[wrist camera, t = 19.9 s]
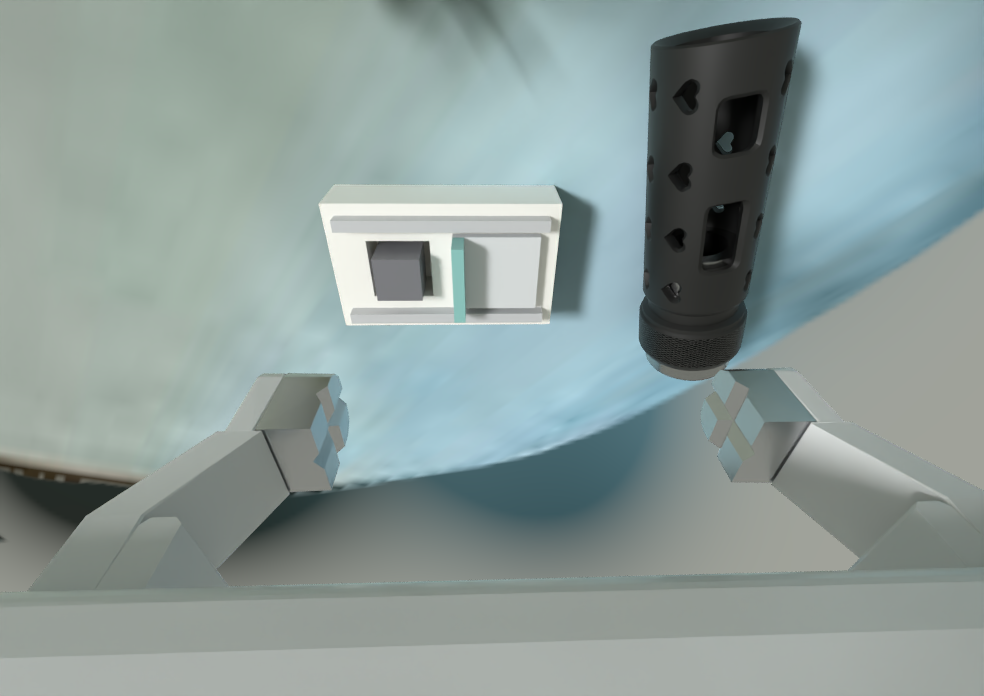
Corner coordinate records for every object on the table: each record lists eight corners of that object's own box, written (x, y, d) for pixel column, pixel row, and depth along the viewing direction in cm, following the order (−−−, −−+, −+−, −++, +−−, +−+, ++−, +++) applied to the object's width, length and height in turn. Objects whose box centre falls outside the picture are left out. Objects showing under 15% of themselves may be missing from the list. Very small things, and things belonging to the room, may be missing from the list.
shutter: (452, 233, 38) (450, 249, 35) (540, 233, 38) (544, 249, 35) (455, 303, 42) (454, 322, 39) (534, 303, 42) (538, 322, 40)
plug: (382, 231, 42) (370, 259, 37) (425, 231, 42) (418, 259, 37) (388, 269, 44) (377, 300, 39) (428, 269, 44) (422, 300, 40)
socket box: (334, 184, 40) (314, 208, 35) (554, 185, 41) (565, 209, 36) (357, 298, 47) (343, 332, 42) (543, 298, 48) (551, 330, 43)
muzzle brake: (753, 15, 34) (844, 16, 25) (709, 317, 50) (756, 377, 42) (626, 42, 34) (675, 52, 26) (625, 331, 51) (654, 392, 43)
